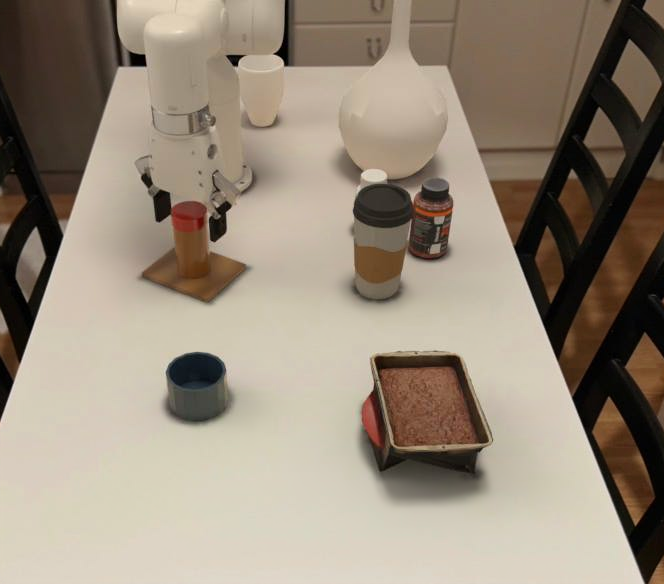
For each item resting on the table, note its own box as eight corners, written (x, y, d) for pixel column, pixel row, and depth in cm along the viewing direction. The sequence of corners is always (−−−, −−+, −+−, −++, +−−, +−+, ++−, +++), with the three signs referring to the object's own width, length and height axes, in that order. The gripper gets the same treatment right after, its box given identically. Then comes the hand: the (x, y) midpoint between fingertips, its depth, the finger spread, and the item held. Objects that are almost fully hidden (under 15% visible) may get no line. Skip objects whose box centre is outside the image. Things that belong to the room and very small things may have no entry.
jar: (190, 255, 139) (185, 197, 132) (218, 265, 137) (214, 207, 130) (169, 272, 136) (163, 213, 129) (197, 283, 134) (193, 224, 127)
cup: (157, 407, 116) (153, 377, 112) (192, 374, 120) (189, 344, 117) (205, 428, 113) (202, 399, 110) (239, 394, 118) (237, 364, 114)
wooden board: (142, 277, 136) (141, 272, 136) (182, 245, 142) (181, 240, 142) (207, 302, 132) (207, 298, 131) (246, 268, 138) (246, 264, 137)
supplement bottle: (445, 262, 139) (454, 196, 131) (406, 257, 140) (413, 192, 132) (448, 240, 143) (457, 175, 135) (410, 236, 144) (417, 171, 136)
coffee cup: (411, 277, 136) (421, 187, 126) (397, 309, 130) (406, 218, 120) (357, 266, 138) (362, 177, 128) (341, 298, 132) (345, 207, 122)
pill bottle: (379, 219, 148) (383, 163, 141) (393, 236, 144) (398, 180, 137) (348, 225, 146) (351, 169, 140) (361, 242, 143) (365, 186, 136)
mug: (285, 131, 169) (284, 71, 162) (240, 132, 169) (237, 72, 161) (283, 102, 178) (283, 44, 170) (240, 103, 178) (238, 44, 170)
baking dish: (469, 407, 119) (472, 341, 113) (495, 496, 104) (500, 425, 98) (358, 415, 119) (355, 349, 113) (368, 504, 104) (366, 433, 99)
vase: (332, 142, 166) (339, -32, 146) (432, 140, 167) (453, -33, 146) (340, 194, 153) (349, 11, 133) (449, 191, 154) (474, 9, 133)
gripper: (251, 120, 119) (255, 232, 131) (146, 89, 125) (158, 199, 137) (218, 143, 114) (225, 258, 126) (111, 110, 121) (127, 222, 133)
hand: (190, 227), depth 132 cm, fingers open, 9 cm apart
